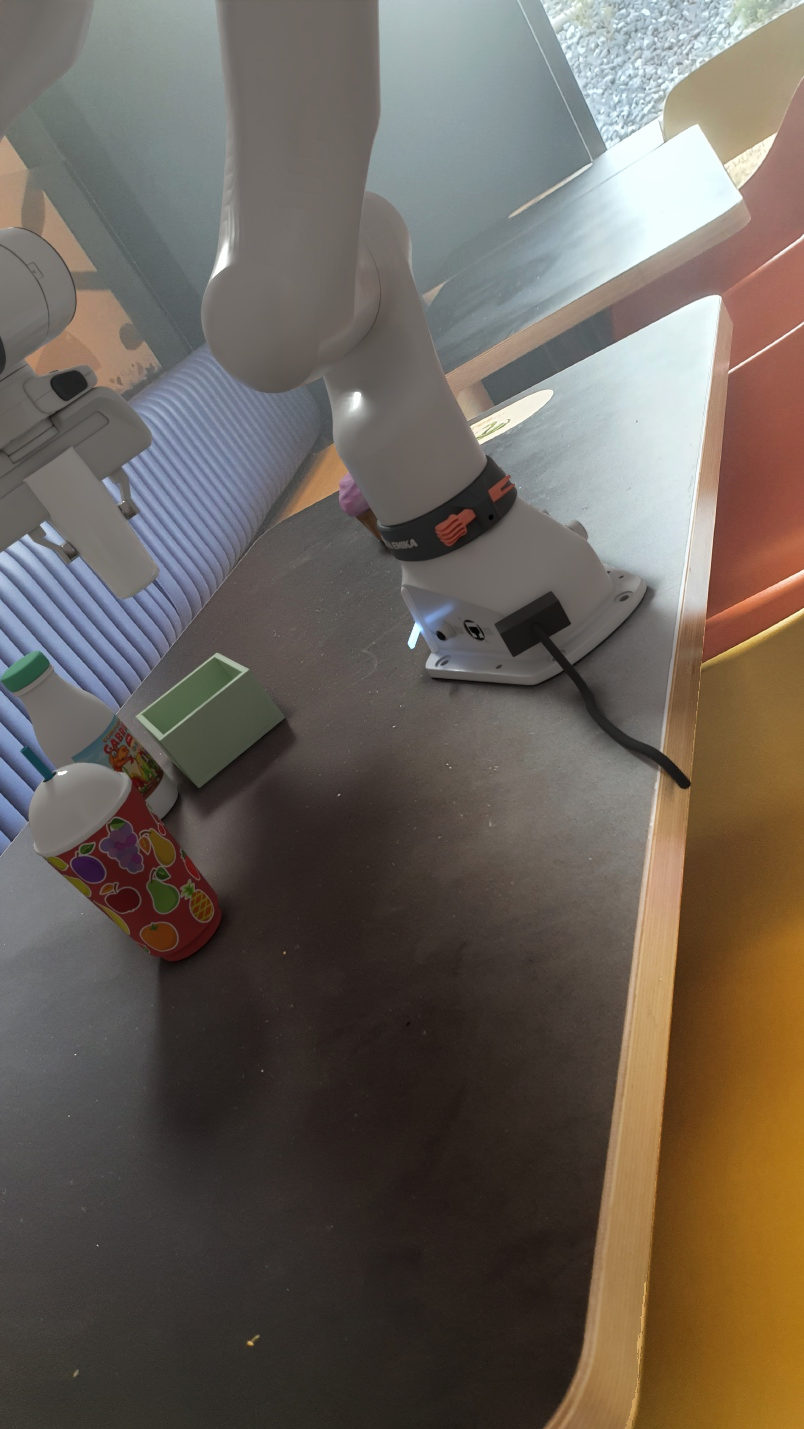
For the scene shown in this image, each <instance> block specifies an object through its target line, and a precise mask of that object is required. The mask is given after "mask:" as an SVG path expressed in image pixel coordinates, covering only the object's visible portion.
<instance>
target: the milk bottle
mask: <svg viewBox="0 0 804 1429" xmlns="http://www.w3.org/2000/svg"><path fill="white" fill-rule="evenodd" d="M0 682H1V684H2V685H3V687H5V688H6V690H7V691H8V692H10V693H11V694H12V695H13V697H14V698H18V699H19V700H20V701H21V702H22V704H23V706H24V708H25V711H26V712H27V714H28V716H29V719H30V722H31V725H32V728H33V732H34V736H35V738H36V740H37V743H38V745H39V747H40V749H41V750H42V752H43V753H44V755H45V756H46V757H47V759H48V760H49V761H50V763H51V764H52V765H53V766H54V767H55V769H59V768H61V767H63V766H66V765H70V764H74V763H81V762H83V763H94V764H99V765H103V766H106V767H108V768H110V769H113V770H114V771H116V772H123V773H126V774H127V775H128V776H129V778H130V779H131V781H132V784H133V785H134V786H135V787H136V788H137V789H138V791H139V792H140V793H141V795H142V796H143V797H144V799H145V800H146V801H147V803H148V804H149V805H150V807H151V808H152V809H153V811H154V812H155V813H156V815H157V816H158V817H159V819H160V820H161V821H162V819H163V818H164V817H165V816H166V815H167V814H168V813H169V812H170V810H171V809H172V808H173V806H174V805H175V803H176V801H177V799H178V797H179V796H178V795H179V791H178V787H177V785H176V784H175V783H174V781H173V780H172V779H171V777H170V776H169V775H168V774H167V773H166V771H165V770H164V769H163V768H162V767H161V765H160V764H159V763H158V762H157V760H156V759H155V758H154V757H153V756H152V755H151V754H150V752H149V751H148V750H147V749H146V748H145V746H144V745H143V744H142V743H141V742H140V741H139V740H138V738H137V737H136V736H135V734H133V732H132V731H131V730H130V728H128V727H127V726H126V724H125V723H124V722H123V721H122V720H121V718H120V717H118V715H117V714H116V713H115V712H114V711H113V709H111V707H109V705H107V704H106V703H105V702H104V701H103V700H101V699H100V698H98V697H97V696H96V695H94V694H92V693H91V692H88V691H86V690H84V689H82V688H80V687H78V686H76V685H74V684H73V683H71V682H70V681H69V682H68V681H67V680H66V679H64V678H63V677H61V676H60V675H59V674H58V673H57V672H56V671H55V666H54V665H53V664H52V663H51V662H50V660H49V659H48V658H47V656H46V655H45V654H44V653H43V652H42V651H40V650H34V651H32V652H29V653H27V654H25V655H24V656H22V657H21V658H20V659H18V660H17V661H16V662H14V663H13V664H11V665H10V666H9V667H7V669H6V670H5V671H4V672H3V674H2V675H1V676H0Z"/></svg>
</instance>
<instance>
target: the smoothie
mask: <svg viewBox="0 0 804 1429" xmlns="http://www.w3.org/2000/svg"><path fill="white" fill-rule="evenodd" d="M19 752H20V753H21V754H22V756H23V757H24V758H25V759H26V760H27V761H28V762H29V763H30V764H31V765H32V767H33V768H35V770H36V771H37V772H38V773H39V774H40V775H41V776H42V778H43V779H42V780H41V781H40V782H39V784H38V785H37V787H36V789H35V790H34V792H33V794H32V796H31V799H30V803H29V806H28V815H27V819H28V827H29V830H30V832H31V835H32V838H33V845H32V847H33V849H34V852H35V854H37V855H38V856H39V857H41V858H43V859H44V860H45V861H46V863H48V865H50V866H51V867H52V868H53V869H54V870H55V871H57V873H59V874H60V875H61V876H62V877H63V878H64V879H66V881H67V882H69V883H70V884H71V885H72V886H73V887H74V888H75V889H77V890H78V891H79V892H80V893H81V894H82V895H83V896H84V897H85V898H86V899H88V901H90V902H91V903H92V904H93V905H94V906H95V907H96V908H97V909H98V910H100V911H101V912H102V914H104V915H105V916H106V917H107V918H109V919H110V921H112V922H113V923H114V924H115V925H116V926H118V927H119V929H121V930H122V931H123V932H124V933H125V934H127V936H128V937H129V938H131V939H132V940H133V941H134V942H135V943H137V944H138V946H140V947H141V948H142V949H143V950H144V951H145V952H146V953H147V954H149V955H150V956H152V957H155V958H162V959H163V960H165V961H168V962H177V961H181V960H184V959H186V958H188V957H190V956H191V955H193V954H194V953H196V952H197V951H199V950H200V949H201V948H203V946H204V945H206V944H207V943H208V942H209V941H210V939H211V938H212V937H213V935H214V934H215V932H216V930H217V929H218V927H219V926H220V923H221V919H222V908H220V906H219V896H218V894H217V892H216V891H215V889H214V888H213V887H212V886H211V885H210V883H209V882H208V880H207V879H206V877H205V876H204V875H203V874H202V873H201V871H200V870H199V869H198V868H197V866H196V865H195V864H194V862H193V861H192V860H191V858H190V857H189V856H188V853H186V851H185V850H184V849H183V848H182V846H181V845H180V843H179V842H178V841H177V839H176V838H175V837H174V835H173V834H172V833H171V832H170V831H169V829H168V828H167V826H166V825H165V824H164V822H163V821H162V819H161V820H160V819H159V817H158V816H157V815H156V813H155V812H154V811H153V809H152V808H151V807H150V805H149V804H148V803H147V801H146V800H145V799H144V797H143V796H142V795H141V793H140V792H139V791H138V789H137V788H136V787H135V786H134V785H133V784H132V781H131V779H130V778H129V776H128V775H127V774H126V773H123V772H116V771H114V770H113V769H110V768H108V767H106V766H103V765H99V764H94V763H83V762H81V763H74V764H70V765H66V766H63V767H61V768H59V769H57V768H55V769H54V770H53V771H52V770H51V769H50V768H49V767H48V766H47V765H46V764H45V763H44V762H43V761H42V759H40V758H39V756H38V755H37V754H36V753H35V752H34V751H33V750H32V749H31V748H30V747H29V746H28V745H25V746H24V747H22V748H21V749H20V750H19Z"/></svg>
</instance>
